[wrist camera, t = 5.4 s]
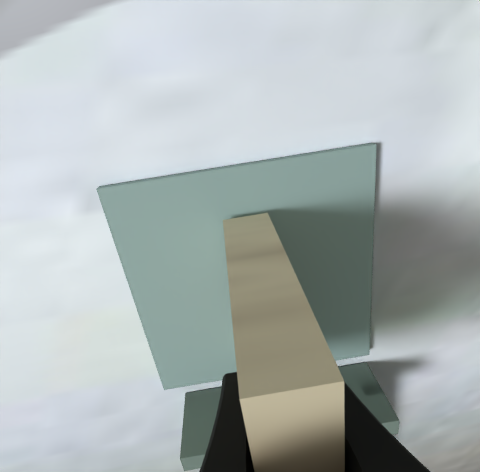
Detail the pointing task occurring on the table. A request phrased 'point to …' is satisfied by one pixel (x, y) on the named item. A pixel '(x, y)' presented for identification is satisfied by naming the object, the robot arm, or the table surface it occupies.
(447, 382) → the table surface
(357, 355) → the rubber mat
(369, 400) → the rack
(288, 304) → the plywood sheet
